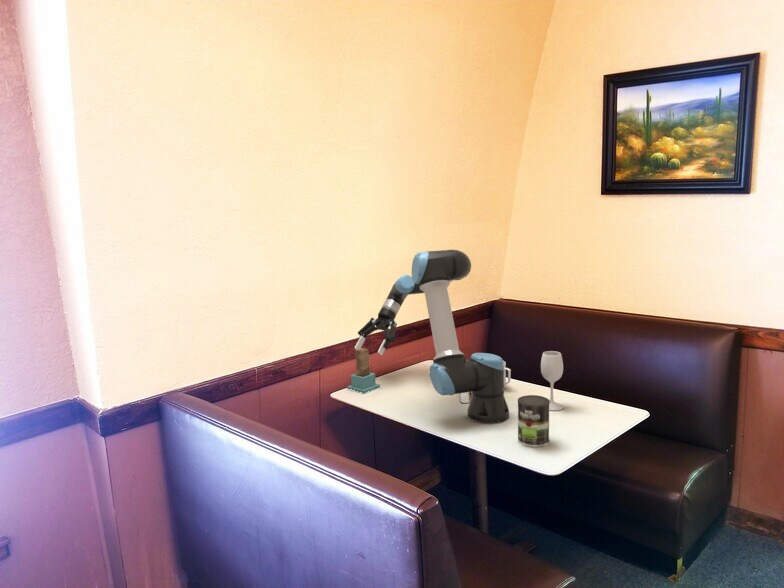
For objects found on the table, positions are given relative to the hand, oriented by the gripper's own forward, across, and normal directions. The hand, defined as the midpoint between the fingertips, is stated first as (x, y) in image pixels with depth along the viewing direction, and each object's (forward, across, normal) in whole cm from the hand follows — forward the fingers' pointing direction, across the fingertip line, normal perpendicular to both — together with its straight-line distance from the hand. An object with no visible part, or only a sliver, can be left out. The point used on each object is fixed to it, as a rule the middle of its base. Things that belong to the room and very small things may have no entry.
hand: (367, 351), depth 261 cm
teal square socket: (+14, 0, -8) cm, 16 cm away
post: (+13, 0, -7) cm, 15 cm away
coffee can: (+20, -85, -2) cm, 87 cm away
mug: (-8, -49, -30) cm, 58 cm away
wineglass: (-3, -76, -25) cm, 80 cm away
